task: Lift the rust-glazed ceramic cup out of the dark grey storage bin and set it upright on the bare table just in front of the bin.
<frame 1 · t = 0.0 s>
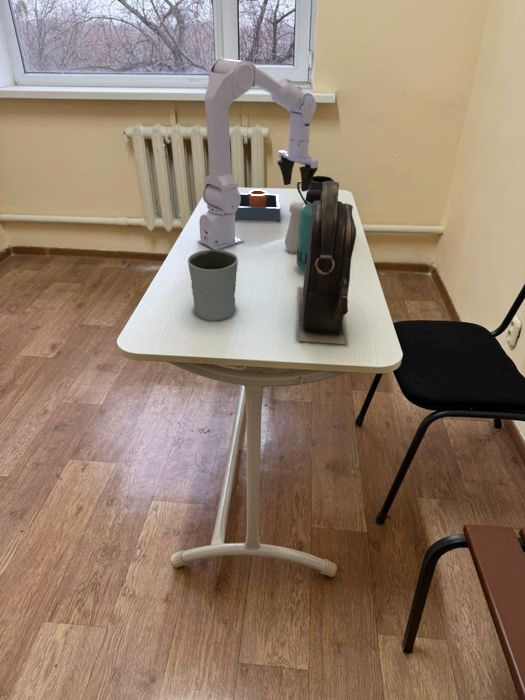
hand: (295, 187, 143), 10 cm above the table, tool pointing down, fingers open, 7 cm apart
grey plant pot: (214, 310, 103), on the table
cup: (257, 212, 152), resting on dark grey storage bin
beverage bottle: (308, 271, 120), on the table
salt shaker: (294, 251, 130), on the table
dark grey storage bin: (257, 214, 152), on the table
shoulder bag: (320, 314, 103), on the table
mug: (313, 208, 158), on the table
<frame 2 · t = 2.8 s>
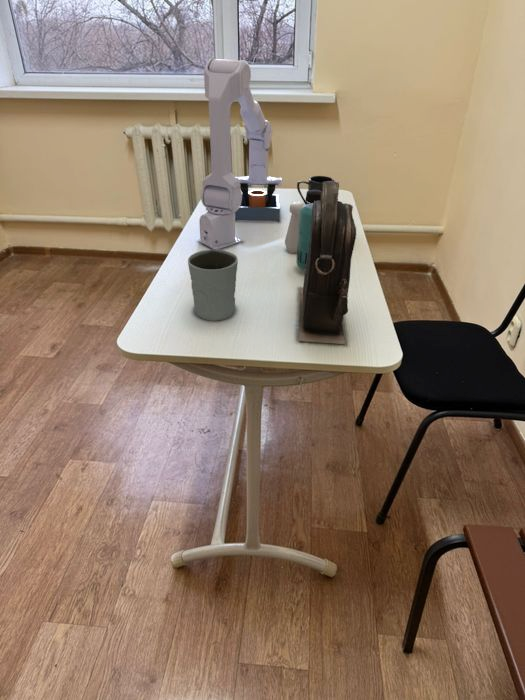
hand: (257, 207, 151), 2 cm above the table, tool pointing down, fingers closed on cup, 5 cm apart
cup: (257, 212, 152), point 1 cm above the table, touching dark grey storage bin, gripper
everything else where it was.
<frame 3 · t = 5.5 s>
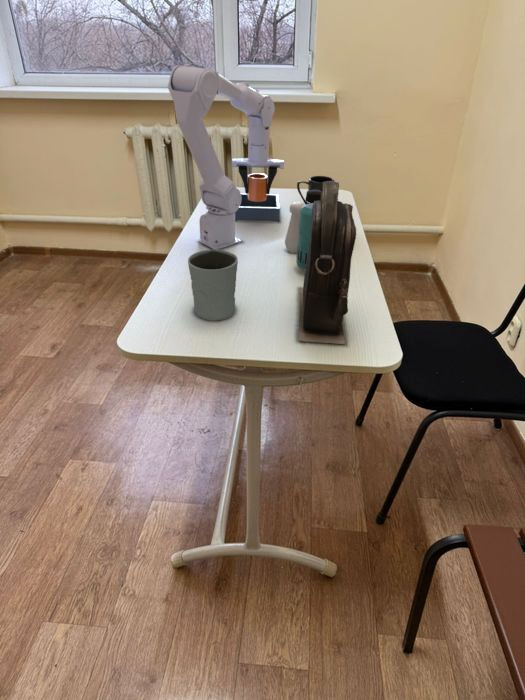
hand: (257, 193, 138), 10 cm above the table, tool pointing down, fingers closed on cup, 5 cm apart
cup: (257, 198, 139), point 8 cm above the table, touching gripper
everything else where it was.
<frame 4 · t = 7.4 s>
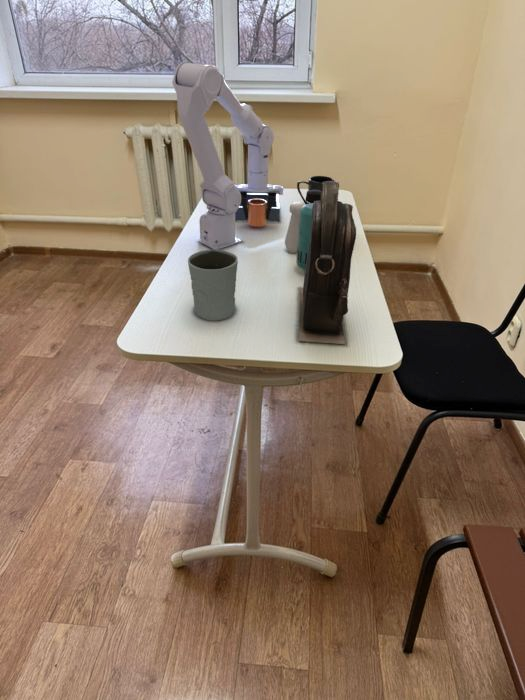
hand: (257, 217, 140), 3 cm above the table, tool pointing down, fingers closed on cup, 5 cm apart
cup: (256, 223, 141), point 2 cm above the table, touching gripper
everything else where it was.
when the fingers open (2 cm above the table, at t = 8.6 s): cup stays where it is, on the table.
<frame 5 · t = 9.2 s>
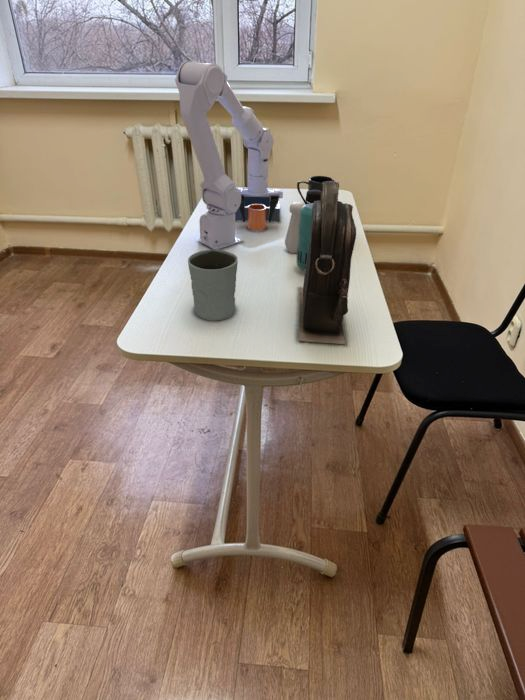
hand: (256, 221, 141), 2 cm above the table, tool pointing down, fingers open, 7 cm apart
cup: (256, 228, 142), on the table
everything else where it was.
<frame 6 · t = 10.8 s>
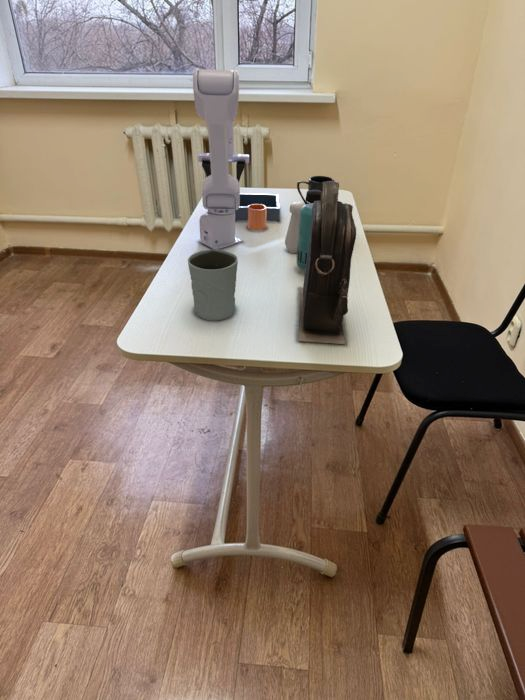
hand: (224, 187, 140), 10 cm above the table, tool pointing down, fingers open, 7 cm apart
nothing on the table moved.
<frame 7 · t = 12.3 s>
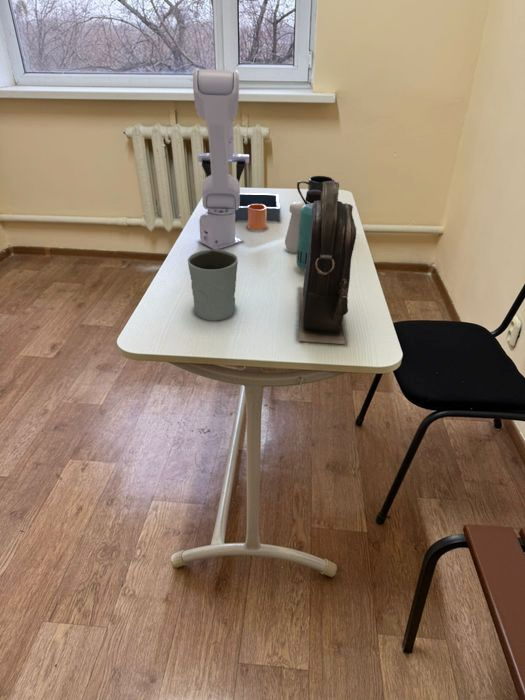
hand: (224, 187, 140), 10 cm above the table, tool pointing down, fingers open, 7 cm apart
nothing on the table moved.
at the end: cup inside the target area (0.0 cm from its centre), on the table; cup tilted 0°; the gripper is holding nothing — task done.
